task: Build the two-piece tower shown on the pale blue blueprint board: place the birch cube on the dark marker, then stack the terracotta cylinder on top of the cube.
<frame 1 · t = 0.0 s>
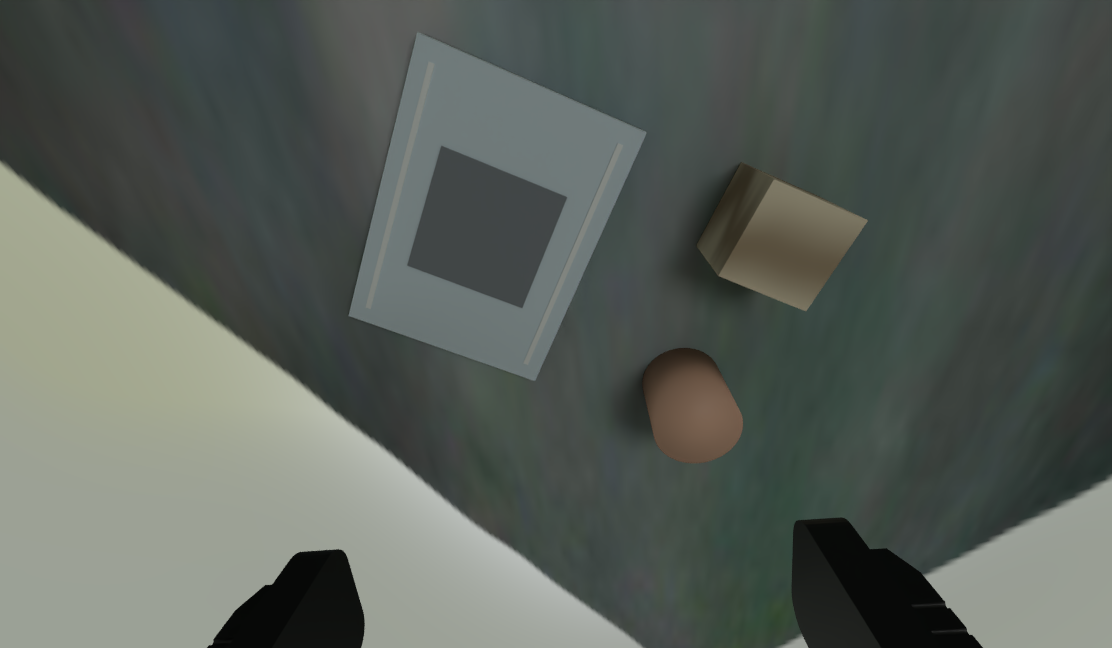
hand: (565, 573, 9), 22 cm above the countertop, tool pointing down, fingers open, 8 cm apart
birch cube: (756, 221, 29), on the countertop
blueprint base: (487, 227, 29), on the countertop
terracotta cylinder: (680, 381, 34), on the countertop
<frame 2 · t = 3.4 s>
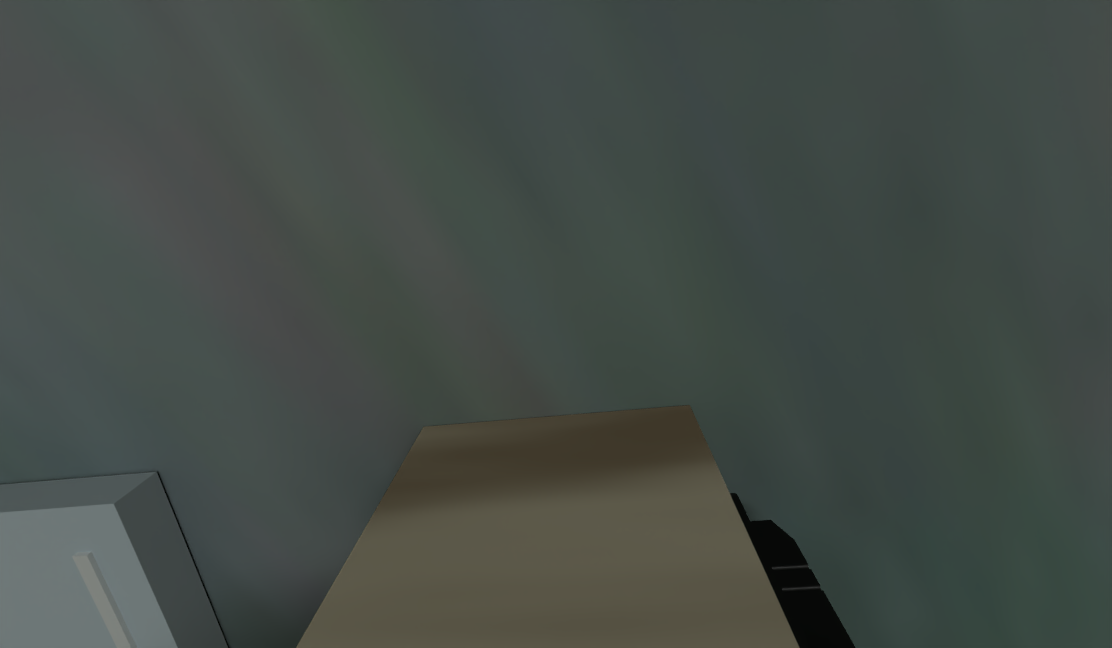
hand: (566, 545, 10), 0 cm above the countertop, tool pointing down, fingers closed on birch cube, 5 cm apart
birch cube: (568, 527, 10), on the countertop, touching gripper
when the fingers open (2 cm above the countertop, at t = 9.5 s): birch cube stays where it is, resting on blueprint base.
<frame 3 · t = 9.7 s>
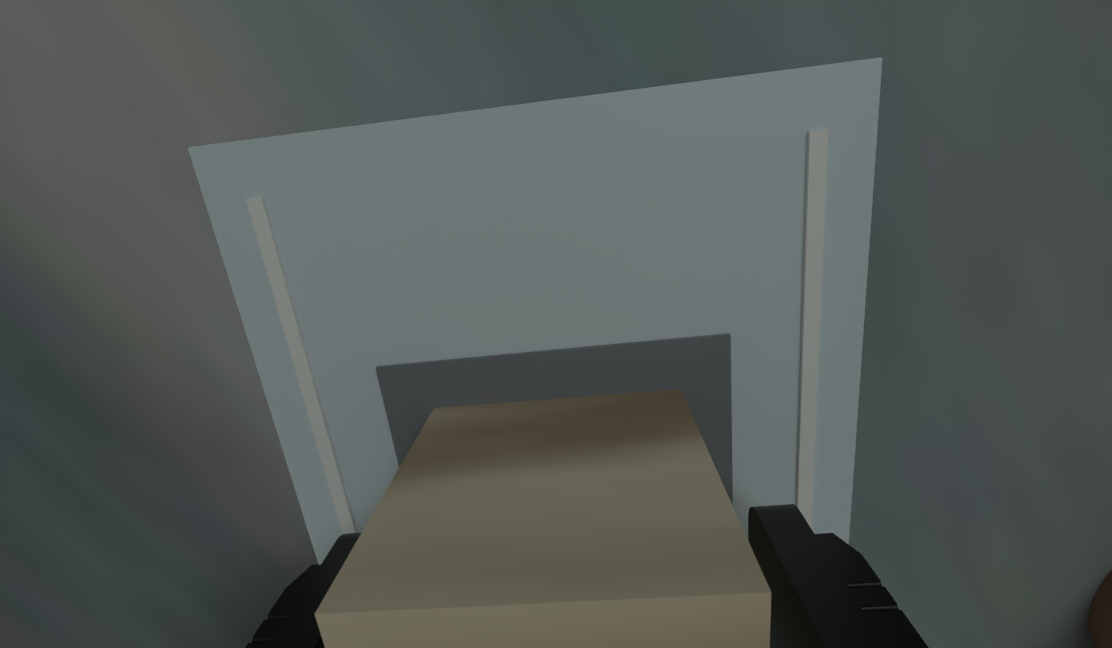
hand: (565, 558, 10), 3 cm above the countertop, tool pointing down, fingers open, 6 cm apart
birch cube: (567, 503, 11), point 1 cm above the countertop, touching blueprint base
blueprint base: (568, 473, 12), on the countertop
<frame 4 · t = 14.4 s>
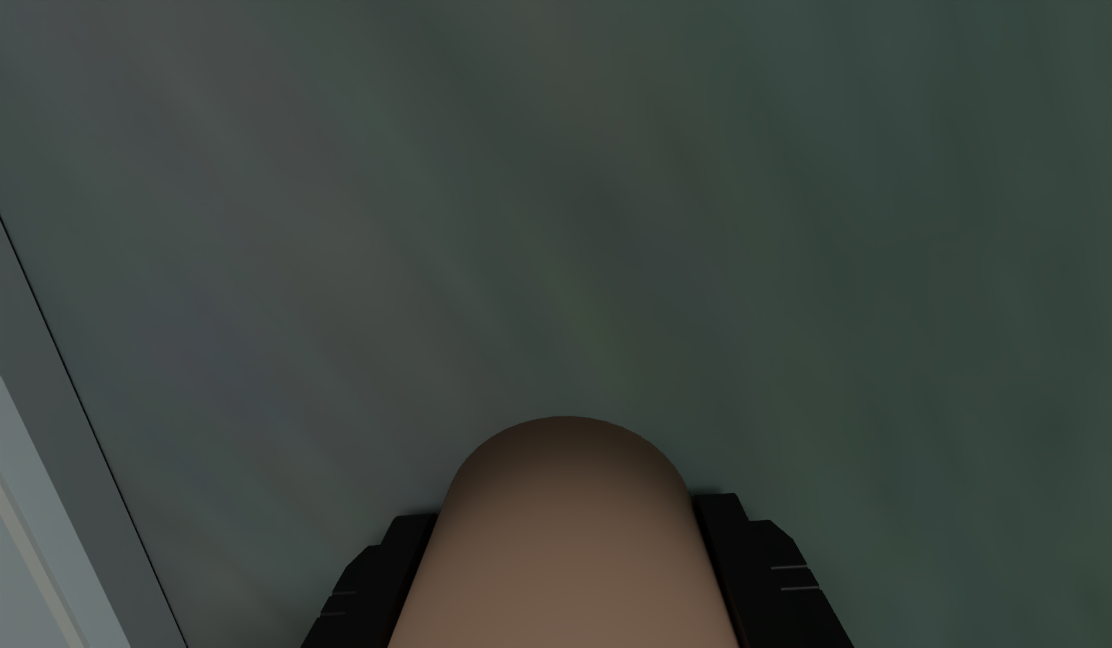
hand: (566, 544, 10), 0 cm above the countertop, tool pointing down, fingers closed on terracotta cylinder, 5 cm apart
terracotta cylinder: (568, 527, 10), on the countertop, touching gripper
when the fingers open (7 cm above the countertop, at t = 20.3 s): terracotta cylinder stays where it is, resting on birch cube.
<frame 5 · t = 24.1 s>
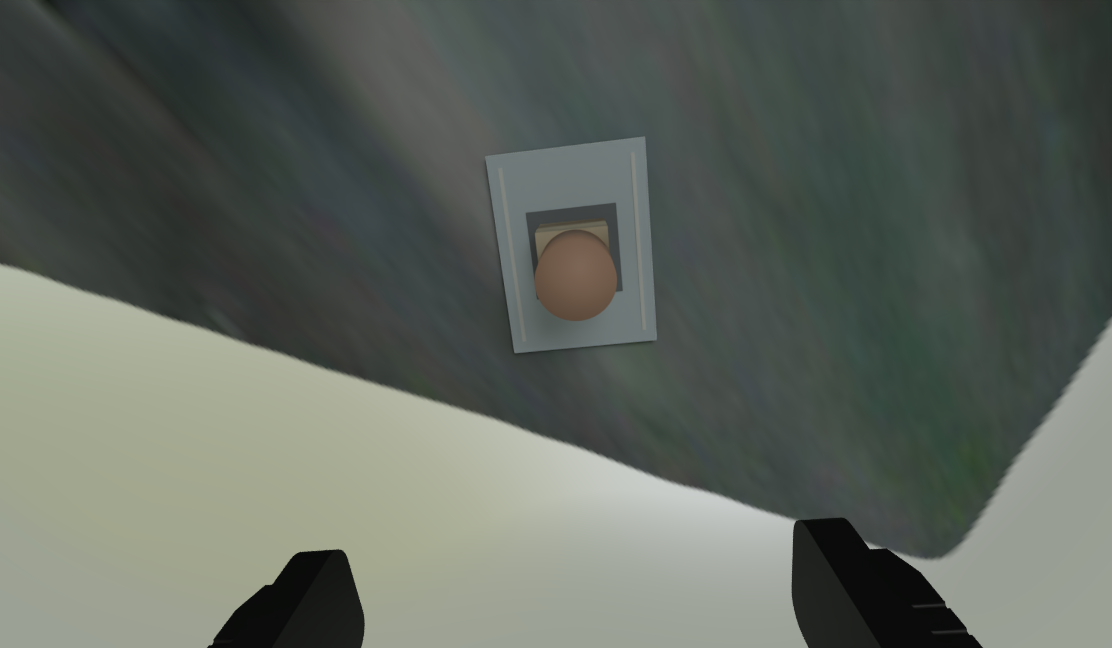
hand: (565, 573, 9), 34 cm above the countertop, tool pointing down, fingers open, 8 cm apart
birch cube: (574, 252, 41), point 1 cm above the countertop, touching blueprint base, terracotta cylinder
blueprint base: (575, 250, 42), on the countertop
terracotta cylinder: (575, 265, 36), point 6 cm above the countertop, touching birch cube
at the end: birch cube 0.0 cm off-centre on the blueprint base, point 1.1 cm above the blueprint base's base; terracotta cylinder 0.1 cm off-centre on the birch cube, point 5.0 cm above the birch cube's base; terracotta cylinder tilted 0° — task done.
